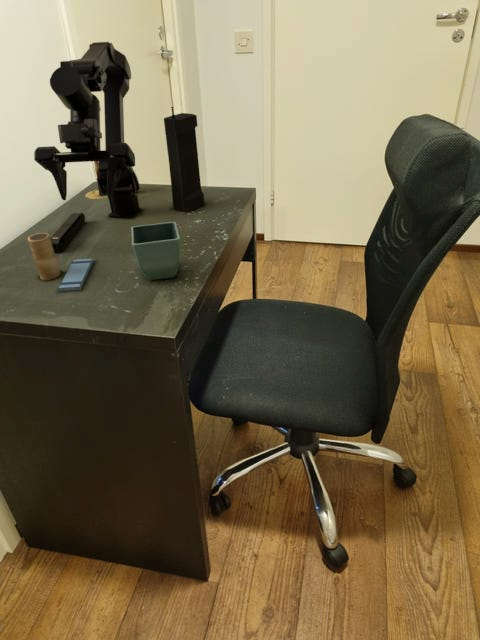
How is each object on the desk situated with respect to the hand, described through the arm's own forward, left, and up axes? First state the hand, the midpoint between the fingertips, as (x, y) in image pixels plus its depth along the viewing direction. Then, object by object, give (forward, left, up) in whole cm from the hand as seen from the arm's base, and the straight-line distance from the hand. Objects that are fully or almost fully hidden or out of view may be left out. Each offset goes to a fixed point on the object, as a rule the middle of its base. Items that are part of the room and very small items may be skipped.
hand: (86, 198), depth 94 cm
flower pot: (+16, -4, -14) cm, 21 cm away
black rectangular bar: (-14, +9, -14) cm, 22 cm away
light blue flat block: (-1, -8, -13) cm, 16 cm away
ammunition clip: (-18, +39, -14) cm, 45 cm away
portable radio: (+7, +33, -14) cm, 37 cm away
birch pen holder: (-6, -9, -13) cm, 17 cm away
